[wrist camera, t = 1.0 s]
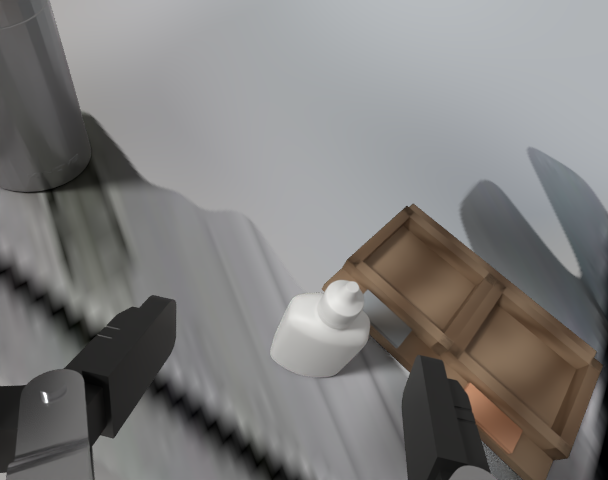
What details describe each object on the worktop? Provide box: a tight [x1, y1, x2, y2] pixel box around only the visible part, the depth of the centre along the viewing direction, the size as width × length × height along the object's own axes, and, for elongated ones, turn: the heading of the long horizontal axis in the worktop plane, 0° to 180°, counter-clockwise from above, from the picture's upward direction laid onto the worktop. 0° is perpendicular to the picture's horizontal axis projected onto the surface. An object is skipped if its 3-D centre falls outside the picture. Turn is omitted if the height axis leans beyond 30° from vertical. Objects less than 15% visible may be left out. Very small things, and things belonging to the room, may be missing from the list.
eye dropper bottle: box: [270, 280, 370, 378], centre depth 27 cm, size 4×6×12 cm
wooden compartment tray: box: [322, 204, 603, 480], centre depth 36 cm, size 22×15×2 cm
